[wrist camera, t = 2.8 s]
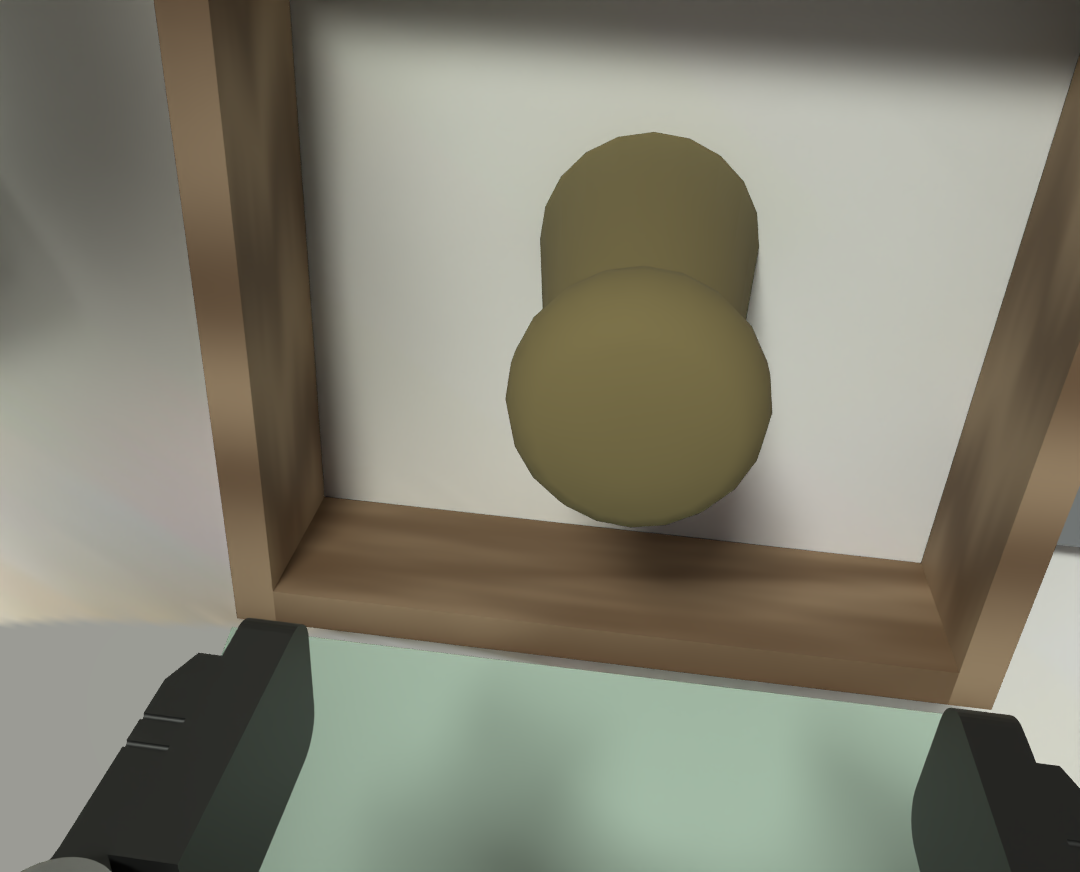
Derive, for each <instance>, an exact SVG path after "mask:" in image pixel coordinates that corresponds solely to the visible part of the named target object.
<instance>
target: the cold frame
mask: <svg viewBox="0 0 1080 872" xmlns="http://www.w3.org/2000/svg"><path fill="white" fill-rule="evenodd" d="M154 6H155V13H156V21H157V28H158V35H159V43H160V50H161V58H162V65H163V72H164V80H165V87H166V95H167V102H168V109H169V117H170V124H171V132H172V139H173V146H174V154H175V161H176V169H177V176H178V183H179V191H180V198H181V206H182V213H183V221H184V228H185V235H186V243H187V250H188V258H189V265H190V272H191V280H192V287H193V295H194V302H195V309H196V317H197V324H198V332H199V339H200V346H201V354H202V361H203V369H204V376H205V383H206V391H207V398H208V406H209V413H210V420H211V428H212V435H213V443H214V450H215V458H216V465H217V472H218V480H219V487H220V495H221V502H222V509H223V517H224V524H225V532H226V539H227V546H228V554H229V561H230V569H231V576H232V583H233V591H234V598H235V606H236V613H237V618H239V619H246V618H256V619H264V620H272V621H280V622H288V623H296V624H303V625H305V626H306V627H313V628H321V629H330V630H338V631H346V632H354V633H363V634H371V635H379V636H387V637H396V638H404V639H412V640H420V641H429V642H437V643H445V644H453V645H462V646H470V647H478V648H486V649H494V650H503V651H511V652H519V653H527V654H536V655H544V656H552V657H560V658H569V659H577V660H585V661H593V662H602V663H610V664H618V665H626V666H635V667H643V668H651V669H659V670H668V671H676V672H684V673H692V674H700V675H709V676H717V677H725V678H733V679H742V680H750V681H758V682H766V683H775V684H783V685H791V686H799V687H808V688H816V689H824V690H832V691H841V692H849V693H857V694H865V695H874V696H882V697H890V698H898V699H907V700H915V701H923V702H931V703H939V704H948V705H956V706H964V707H972V708H981V709H989V710H991V709H992V707H993V704H994V702H995V699H996V697H997V694H998V692H999V689H1000V687H1001V684H1002V682H1003V679H1004V676H1005V674H1006V671H1007V669H1008V666H1009V664H1010V661H1011V659H1012V656H1013V654H1014V651H1015V649H1016V646H1017V644H1018V641H1019V638H1020V636H1021V633H1022V631H1023V628H1024V626H1025V623H1026V621H1027V618H1028V616H1029V613H1030V611H1031V608H1032V606H1033V603H1034V600H1035V598H1036V595H1037V593H1038V590H1039V588H1040V585H1041V583H1042V580H1043V578H1044V575H1045V573H1046V570H1047V568H1048V565H1049V562H1050V560H1051V557H1052V555H1053V552H1054V550H1055V547H1056V545H1057V542H1058V540H1059V537H1060V535H1061V532H1062V529H1063V527H1064V524H1065V522H1066V519H1067V517H1068V514H1069V512H1070V509H1071V507H1072V504H1073V502H1074V499H1075V497H1076V494H1077V491H1078V489H1079V486H1080V55H1079V58H1078V62H1077V65H1076V68H1075V71H1074V74H1073V78H1072V81H1071V84H1070V87H1069V90H1068V94H1067V97H1066V100H1065V103H1064V107H1063V110H1062V113H1061V116H1060V119H1059V123H1058V126H1057V129H1056V132H1055V135H1054V139H1053V142H1052V145H1051V148H1050V151H1049V155H1048V158H1047V161H1046V164H1045V167H1044V171H1043V174H1042V177H1041V180H1040V183H1039V187H1038V190H1037V193H1036V196H1035V200H1034V203H1033V206H1032V209H1031V212H1030V216H1029V219H1028V222H1027V225H1026V228H1025V232H1024V235H1023V238H1022V241H1021V244H1020V248H1019V251H1018V254H1017V257H1016V260H1015V264H1014V267H1013V270H1012V273H1011V277H1010V280H1009V283H1008V286H1007V289H1006V293H1005V296H1004V299H1003V302H1002V305H1001V309H1000V312H999V315H998V318H997V321H996V325H995V328H994V331H993V334H992V337H991V341H990V344H989V347H988V350H987V353H986V357H985V360H984V363H983V366H982V370H981V373H980V376H979V379H978V382H977V386H976V389H975V392H974V395H973V398H972V402H971V405H970V408H969V411H968V414H967V418H966V421H965V424H964V427H963V430H962V434H961V437H960V440H959V443H958V446H957V450H956V453H955V456H954V459H953V463H952V466H951V469H950V472H949V475H948V479H947V482H946V485H945V488H944V491H943V495H942V498H941V501H940V504H939V507H938V511H937V514H936V517H935V520H934V523H933V527H932V530H931V533H930V536H929V539H928V543H927V546H926V549H925V552H924V556H923V559H922V562H921V563H915V562H906V561H897V560H888V559H879V558H870V557H861V556H852V555H843V554H834V553H825V552H816V551H807V550H798V549H789V548H780V547H771V546H762V545H753V544H744V543H735V542H726V541H717V540H708V539H699V538H690V537H681V536H672V535H663V534H655V533H646V532H637V531H628V530H619V529H610V528H601V527H592V526H583V525H574V524H565V523H556V522H547V521H538V520H529V519H520V518H511V517H502V516H493V515H484V514H475V513H466V512H457V511H448V510H439V509H430V508H421V507H412V506H403V505H394V504H385V503H376V502H367V501H358V500H349V499H340V498H331V497H325V496H324V482H323V468H322V454H321V440H320V426H319V411H318V397H317V383H316V369H315V355H314V341H313V327H312V312H311V298H310V284H309V270H308V256H307V242H306V228H305V214H304V199H303V185H302V171H301V157H300V143H299V129H298V115H297V100H296V86H295V72H294V58H293V44H292V30H291V16H290V1H289V0H154Z"/></svg>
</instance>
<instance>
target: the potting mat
mask: <svg viewBox="0 0 1080 872" xmlns="http://www.w3.org/2000/svg"><path fill="white" fill-rule="evenodd" d="M1057 545H1062V546H1072V547H1080V486H1079V489H1078V491H1077V494H1076V497H1075V499H1074V502H1073V504H1072V507H1071V509H1070V512H1069V514H1068V517H1067V519H1066V522H1065V524H1064V527H1063V529H1062V532H1061V535H1060V537H1059V540H1058V542H1057Z"/></svg>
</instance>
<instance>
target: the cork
mask: <svg viewBox="0 0 1080 872" xmlns="http://www.w3.org/2000/svg"><path fill="white" fill-rule="evenodd" d="M540 245H541V274H542V302H543V309H542V310H541V311H540V312H539V313H538V314H537V315H536V316H535V317H534V318H533V320H532V321H531V323H530V325H529V327H528V329H527V330H526V332H525V334H524V336H523V338H522V340H521V341H520V343H519V345H518V347H517V349H516V351H515V353H514V356H513V359H512V362H511V367H510V373H509V380H508V386H507V393H506V404H507V409H508V414H509V419H510V424H511V429H512V434H513V439H514V444H515V447H516V449H517V451H518V453H519V454H520V456H521V458H522V459H523V461H524V463H525V464H526V466H527V468H528V470H529V471H530V473H531V475H532V476H533V478H534V479H536V480H537V481H538V482H539V483H540V484H541V485H542V486H543V487H544V488H546V489H547V490H548V491H549V492H550V493H551V494H552V495H553V496H554V497H556V498H557V499H558V500H559V501H560V502H561V503H563V504H564V505H566V506H567V507H569V508H572V509H574V510H576V511H578V512H580V513H582V514H584V515H586V516H588V517H590V518H592V519H594V520H596V521H601V522H606V523H611V524H616V525H621V526H627V527H642V526H658V525H667V524H670V523H673V522H675V521H678V520H681V519H684V518H687V517H690V516H693V515H696V514H699V513H700V512H702V511H704V510H706V509H707V508H709V507H710V506H712V505H713V504H714V503H716V502H717V501H719V500H720V499H722V498H723V497H724V496H726V495H727V494H729V493H730V492H732V491H733V490H734V489H735V488H736V487H737V486H738V484H739V483H740V482H741V480H742V479H743V478H744V477H745V475H746V474H747V473H748V471H749V470H750V469H751V467H752V466H753V465H754V463H755V462H756V461H757V458H758V455H759V452H760V450H761V447H762V443H763V440H764V437H765V434H766V431H767V428H768V424H769V421H770V418H771V415H772V399H771V381H770V372H769V367H768V363H767V360H766V358H765V355H764V353H763V351H762V349H761V346H760V344H759V342H758V340H757V337H756V335H755V333H754V330H753V328H752V326H751V325H750V324H749V323H748V322H747V321H746V317H747V311H748V305H749V300H750V294H751V288H752V283H753V277H754V271H755V266H756V260H757V254H758V249H759V240H758V223H757V212H756V210H755V207H754V205H753V202H752V200H751V198H750V195H749V193H748V190H747V188H746V186H745V183H744V181H743V180H742V179H741V178H740V177H739V176H738V175H737V174H736V172H735V171H734V170H733V169H732V168H731V167H730V166H729V165H728V164H727V162H726V161H725V160H724V159H723V158H722V157H721V156H720V155H718V154H716V153H715V152H713V151H711V150H709V149H707V148H706V147H704V146H702V145H700V144H698V143H697V142H695V141H693V140H691V139H689V138H683V137H678V136H673V135H667V134H662V133H656V132H651V133H644V134H636V135H629V136H622V137H617V138H615V139H613V140H611V141H609V142H607V143H605V144H603V145H601V146H599V147H597V148H594V149H592V150H590V151H588V152H586V153H585V154H584V155H583V156H582V157H581V158H580V159H579V160H578V161H577V162H576V163H575V164H574V165H573V166H572V167H571V168H570V169H569V170H568V171H566V172H565V173H564V174H563V175H562V176H561V178H560V180H559V182H558V184H557V186H556V187H555V189H554V191H553V193H552V195H551V197H550V199H549V201H548V203H547V205H546V207H545V213H544V219H543V225H542V231H541V238H540Z"/></svg>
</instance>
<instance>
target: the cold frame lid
mask: <svg viewBox="0 0 1080 872" xmlns="http://www.w3.org/2000/svg"><path fill="white" fill-rule="evenodd" d="M237 629H238V628H235V627H232V629H231V631H230V634H229V637H228V639H227V642H226V645H225V647H224V650H223V653H224V651H225V649H226V648H227V646H228V644H229V643H230V641H231V639H232V637H233V636H234V634H235V632H236V630H237ZM309 647H310V660H311V672H312V684H313V697H314V726H313V733H312V738H311V743H310V747H309V751H308V754H307V757H306V759H305V762H304V764H303V767H302V769H301V772H300V774H299V776H298V779H297V781H296V784H295V786H294V788H293V791H292V793H291V796H290V798H289V801H288V803H287V805H286V808H285V810H284V813H283V815H282V817H281V820H280V822H279V825H278V827H277V829H276V832H275V834H274V837H273V839H272V841H271V844H270V846H269V849H268V851H267V853H266V856H265V858H264V861H263V863H262V865H261V868H260V870H259V872H920V870H919V866H918V861H917V857H916V853H915V849H914V844H913V839H912V829H911V811H912V802H913V796H914V792H915V789H916V786H917V783H918V780H919V777H920V775H921V772H922V769H923V766H924V764H925V761H926V758H927V755H928V752H929V750H930V747H931V744H932V741H933V738H934V736H935V733H936V730H937V727H938V725H939V722H940V719H941V717H942V715H943V714H939V713H931V712H923V711H914V710H906V709H898V708H890V707H882V706H874V705H865V704H857V703H849V702H841V701H833V700H824V699H816V698H808V697H800V696H792V695H783V694H775V693H767V692H759V691H751V690H742V689H734V688H726V687H718V686H710V685H701V684H693V683H685V682H677V681H669V680H661V679H652V678H644V677H636V676H628V675H620V674H611V673H603V672H595V671H587V670H579V669H570V668H562V667H554V666H546V665H538V664H529V663H521V662H513V661H505V660H497V659H489V658H480V657H472V656H464V655H456V654H448V653H439V652H431V651H423V650H415V649H406V648H397V647H390V646H382V645H374V644H366V643H357V642H349V641H341V640H333V639H325V638H316V637H309ZM223 653H222V655H223ZM222 655H221V656H222Z"/></svg>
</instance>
